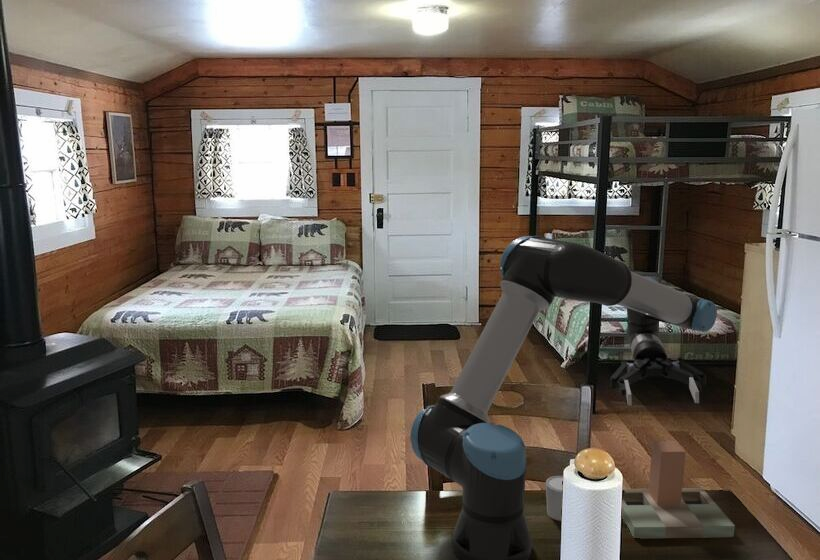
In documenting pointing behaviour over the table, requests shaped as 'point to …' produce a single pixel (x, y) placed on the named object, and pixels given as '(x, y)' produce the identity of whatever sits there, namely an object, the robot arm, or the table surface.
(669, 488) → the block
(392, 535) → the table surface
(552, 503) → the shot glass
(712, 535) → the board
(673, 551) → the table surface
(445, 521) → the table surface
